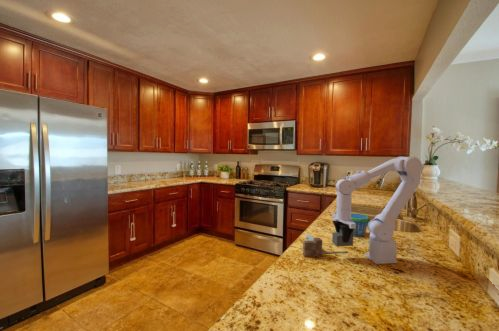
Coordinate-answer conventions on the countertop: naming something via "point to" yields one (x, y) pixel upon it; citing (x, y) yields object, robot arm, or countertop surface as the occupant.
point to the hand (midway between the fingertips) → (342, 239)
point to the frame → (315, 248)
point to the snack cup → (360, 224)
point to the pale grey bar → (309, 238)
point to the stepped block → (339, 241)
